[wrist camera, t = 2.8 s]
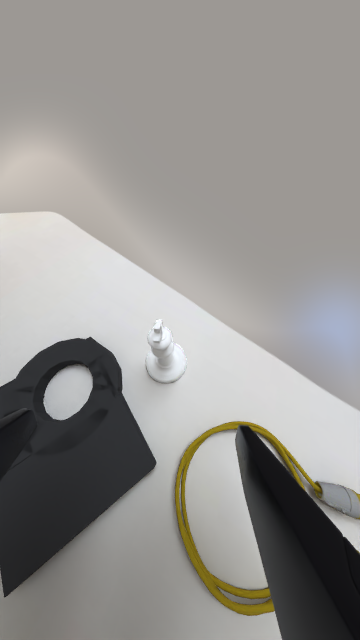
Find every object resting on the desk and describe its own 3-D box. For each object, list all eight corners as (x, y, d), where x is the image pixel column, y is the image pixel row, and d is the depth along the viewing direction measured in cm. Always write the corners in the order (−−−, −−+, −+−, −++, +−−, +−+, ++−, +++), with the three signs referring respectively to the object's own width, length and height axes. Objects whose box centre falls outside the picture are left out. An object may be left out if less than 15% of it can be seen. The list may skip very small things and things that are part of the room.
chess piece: (188, 344, 22) (194, 299, 13) (185, 385, 19) (190, 365, 10) (149, 341, 22) (129, 294, 13) (142, 381, 19) (112, 358, 11)
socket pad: (166, 454, 16) (165, 458, 15) (21, 579, 13) (3, 599, 11) (99, 327, 23) (94, 322, 21) (-11, 387, 19) (-25, 386, 18)
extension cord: (344, 735, 10) (379, 805, 8) (147, 512, 14) (143, 527, 13) (376, 506, 15) (404, 520, 13) (219, 389, 19) (224, 388, 17)
